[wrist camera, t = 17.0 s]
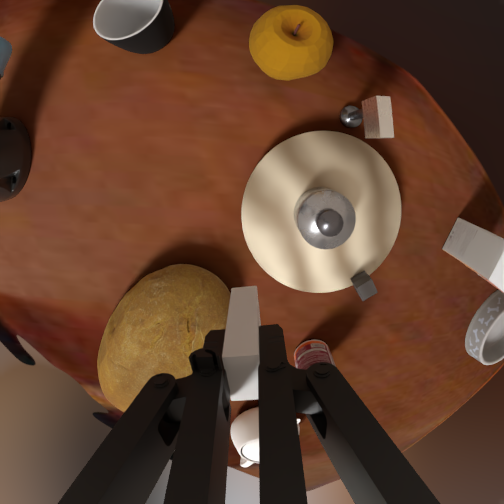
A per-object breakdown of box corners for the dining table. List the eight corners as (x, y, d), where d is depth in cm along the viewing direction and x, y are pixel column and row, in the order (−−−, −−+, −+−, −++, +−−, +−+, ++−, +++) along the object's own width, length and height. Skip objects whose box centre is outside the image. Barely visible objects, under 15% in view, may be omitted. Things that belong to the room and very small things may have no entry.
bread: (256, 287, 45) (257, 323, 36) (171, 413, 55) (161, 449, 46) (147, 228, 42) (120, 250, 33) (93, 373, 52) (74, 406, 43)
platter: (297, 319, 45) (300, 335, 41) (209, 186, 38) (204, 191, 34) (419, 246, 41) (433, 256, 37) (352, 103, 34) (363, 98, 30)
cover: (307, 248, 40) (315, 263, 34) (284, 201, 38) (289, 210, 32) (353, 225, 38) (368, 236, 33) (332, 177, 36) (345, 182, 31)
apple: (279, 103, 36) (290, 84, 25) (233, 52, 34) (226, 18, 23) (334, 66, 34) (362, 39, 23) (289, 16, 32) (301, -24, 21)
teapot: (269, 449, 59) (271, 486, 49) (215, 435, 57) (211, 473, 47) (324, 394, 53) (334, 435, 42) (261, 374, 51) (263, 419, 40)
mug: (195, 25, 32) (179, -6, 22) (153, 71, 34) (125, 52, 25) (138, -5, 30) (113, -34, 20) (100, 38, 32) (66, 18, 22)
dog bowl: (500, 350, 52) (511, 362, 47) (453, 358, 51) (464, 373, 46) (526, 288, 46) (540, 298, 41) (482, 287, 46) (497, 300, 41)
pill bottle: (286, 351, 49) (293, 399, 38) (315, 331, 47) (330, 377, 37) (307, 370, 50) (317, 417, 40) (335, 352, 49) (351, 397, 38)
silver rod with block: (341, 139, 38) (374, 137, 27) (338, 106, 36) (369, 92, 25) (361, 139, 37) (399, 137, 26) (358, 106, 36) (395, 94, 25)
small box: (440, 249, 43) (487, 280, 30) (457, 216, 41) (508, 239, 28) (466, 267, 44) (510, 298, 32) (482, 236, 42) (529, 262, 30)
